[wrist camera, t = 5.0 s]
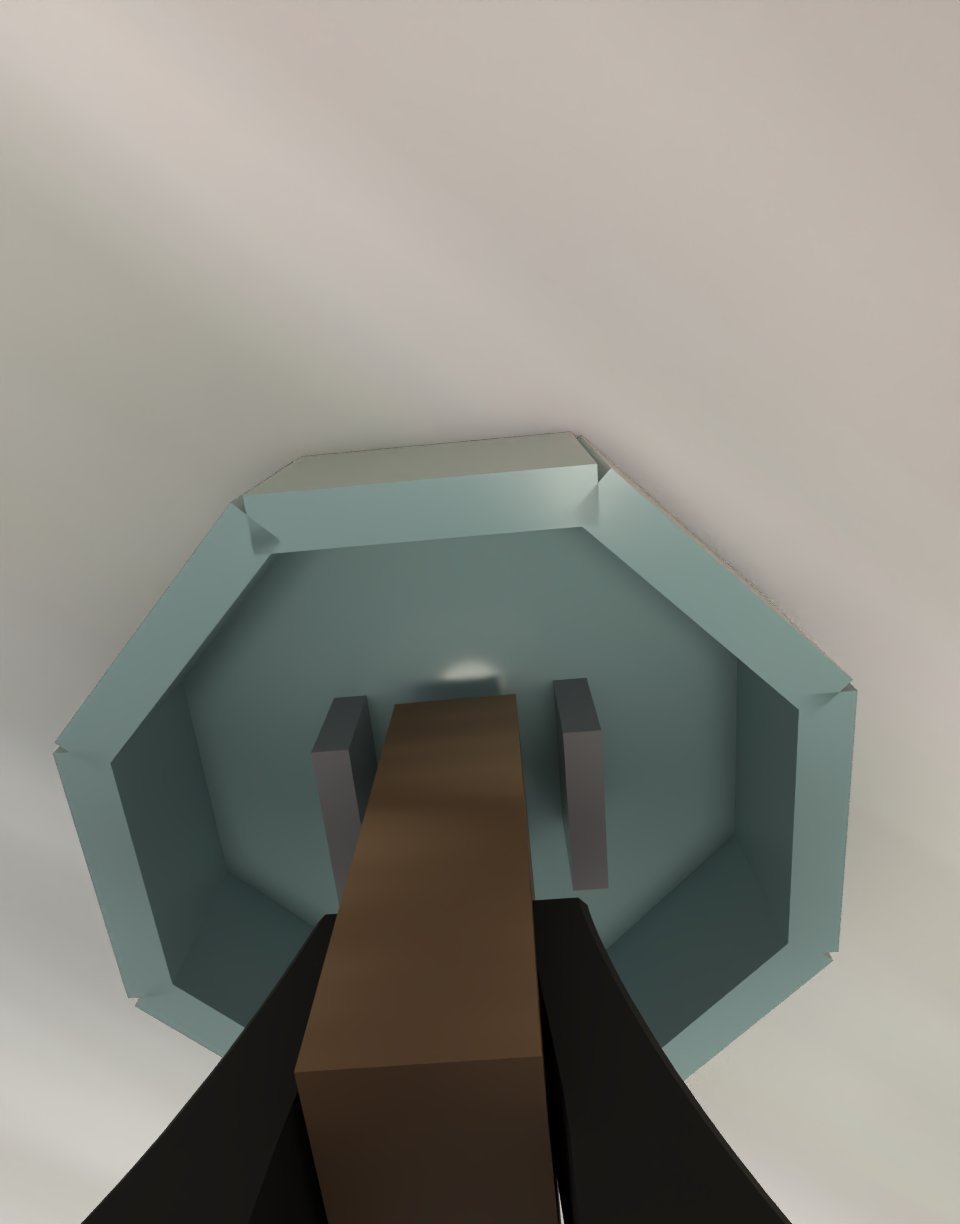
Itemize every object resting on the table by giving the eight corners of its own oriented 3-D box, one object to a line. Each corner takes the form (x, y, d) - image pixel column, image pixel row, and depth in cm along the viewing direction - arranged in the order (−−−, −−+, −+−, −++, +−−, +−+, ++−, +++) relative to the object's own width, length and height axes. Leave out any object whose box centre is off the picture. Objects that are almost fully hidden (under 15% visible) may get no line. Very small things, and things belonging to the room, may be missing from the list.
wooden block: (424, 905, 14) (365, 1389, 8) (395, 704, 13) (294, 1071, 6) (535, 897, 14) (573, 1379, 8) (515, 693, 13) (541, 1056, 6)
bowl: (233, 995, 18) (174, 1149, 14) (103, 474, 14) (-19, 520, 10) (761, 961, 17) (826, 1111, 14) (779, 412, 13) (875, 437, 10)
